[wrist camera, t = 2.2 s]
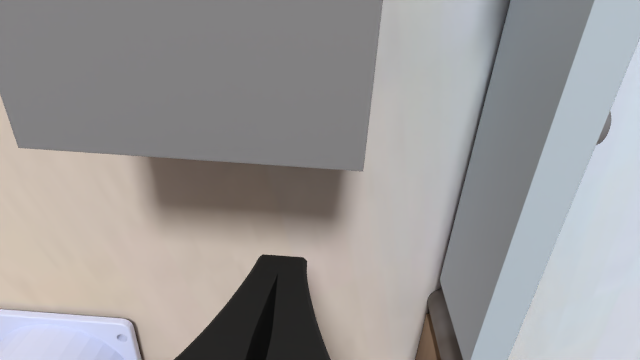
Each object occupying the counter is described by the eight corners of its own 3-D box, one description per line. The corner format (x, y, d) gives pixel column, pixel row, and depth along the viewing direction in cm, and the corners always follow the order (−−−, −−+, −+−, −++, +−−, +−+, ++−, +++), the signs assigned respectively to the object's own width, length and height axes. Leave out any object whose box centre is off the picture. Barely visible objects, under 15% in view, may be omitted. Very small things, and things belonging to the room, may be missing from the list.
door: (489, 283, 18) (531, 376, 14) (439, 280, 18) (466, 371, 14) (591, -21, 12) (710, -8, 8) (516, -25, 12) (599, -15, 8)
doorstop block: (356, 92, 15) (362, 171, 9) (133, 78, 15) (18, 147, 10) (368, -34, 13) (385, -25, 7) (112, -49, 13) (-48, -50, 8)
